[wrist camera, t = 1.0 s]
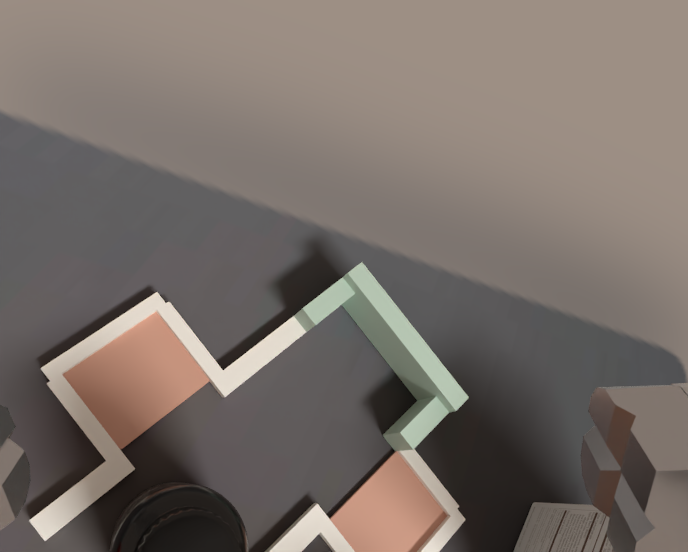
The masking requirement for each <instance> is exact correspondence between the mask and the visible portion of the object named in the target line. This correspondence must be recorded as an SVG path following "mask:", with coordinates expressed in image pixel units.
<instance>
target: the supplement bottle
mask: <svg viewBox="0 0 688 552" xmlns="http://www.w3.org/2000/svg"><path fill="white" fill-rule="evenodd" d="M110 552H248V538H247V533H246V529H245V526H244V523H243V521H242V519H241V517H240V515H239V513H238V512H237V510H236V509H235V507H234V506H233V505H232V504H231V503H230V502H229V501H228V500H227V499H226V498H225V497H223V496H222V495H221V494H219V493H218V492H216V491H214V490H212V489H210V488H207V487H204V486H200V485H195V484H190V483H184V482H168V483H162V484H159V485H155V486H153V487H151V488H149V489H146V490H145V491H143V492H142V493H140V494H139V495H137V496H136V497H135V498H134V499H133V500H132V501H131V502H130V503H129V504H128V505H127V506H126V507H125V509H124V510H123V512H122V513H121V515H120V516H119V518H118V520H117V522H116V525H115V527H114V530H113V534H112V538H111V545H110Z"/></svg>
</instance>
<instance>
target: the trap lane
mask: <svg viewBox="0 0 688 552" xmlns="http://www.w3.org/2000/svg"><path fill="white" fill-rule="evenodd" d="M340 305H342V306H343V307H344V308H345V310H346V311H347V312H348V313H349V315H350V316H351V317H352V319H353V320H354V321H355V322H356V324H357V325H358V326H359V327H360V329H361V330H362V331H363V333H364V334H365V335H366V336H367V338H368V339H369V340H370V341H371V343H372V344H373V345H374V347H375V348H376V349H377V350H378V352H379V353H380V354H381V355H382V357H383V358H384V359H385V360H386V362H387V363H388V364H389V366H390V367H391V368H392V369H393V371H394V372H395V373H396V374H397V376H398V377H399V378H400V380H401V381H402V382H403V383H404V385H405V386H406V387H407V388H408V390H409V391H410V392H411V394H412V395H413V396H414V397H415V399H416V400H417V402H416V403H415V404H414V405H413V406H411V407H410V408H409V409H408V410H407V411H406V412H405V413H404V414H403V415H402V416H401V417H400V418H399V419H398V420H397V421H396V422H395V423H394V424H393V425H392V426H391V427H390V428H389V429H388V430H387V431H386V432H385V433H384V434H383V437H384V438H385V439H386V441H387V442H388V443H389V444H390V446H391V447H392V448H393V450H394V451H395V452H394V453H393V454H392V455H391V456H390V457H389V458H388V459H387V460H386V461H385V462H384V463H383V464H382V465H381V466H380V467H379V468H378V469H377V470H376V471H375V472H374V473H373V474H372V475H371V476H370V477H369V478H368V479H367V480H366V481H365V482H364V483H363V484H362V485H361V487H360V488H359V489H358V490H357V491H356V492H355V493H354V494H353V495H352V496H351V497H350V498H349V499H348V500H347V501H346V502H345V503H344V504H343V505H342V506H341V507H340V508H339V509H338V510H337V511H336V512H335V513H334V514H333V515H332V516H331V517H330V518H328V516H327V515H326V514H325V513H324V511H323V510H322V509H321V508H320V506H319V505H318V504H317V503H313V504H312V505H311V506H310V507H309V508H308V509H307V510H306V511H305V512H304V513H303V514H302V515H301V516H300V517H299V518H298V519H297V520H296V521H295V522H294V523H293V524H292V525H291V526H290V527H289V528H288V529H287V530H286V531H285V532H284V533H283V534H282V535H281V536H280V537H279V538H278V539H277V540H276V541H275V542H274V543H273V544H272V545H271V546H270V547H269V548H268V549H267V550H266V551H265V552H302V551H303V550H304V549H305V548H306V547H307V546H308V544H309V543H310V542H311V541H312V540H313V539H314V538H315V537H316V536H317V535H318V534H319V535H320V536H321V537H322V539H323V540H324V541H325V542H326V544H327V545H328V546H329V548H330V549H331V550H332V551H333V552H439V551H440V550H441V549H442V548H443V546H444V545H445V544H446V543H447V542H448V540H449V539H450V538H451V537H452V536H453V534H454V533H455V532H456V531H457V530H458V528H459V527H460V526H461V525H462V524H463V522H464V521H465V520H466V519H465V518H464V517H463V515H462V514H461V513H460V512H459V510H458V509H457V508H458V507H459V505H458V504H457V503H456V501H455V500H454V499H453V498H452V496H451V495H450V494H449V493H448V491H447V490H446V489H445V487H444V486H443V485H442V484H441V482H440V481H439V480H438V479H437V477H436V476H435V475H434V473H433V472H432V471H431V470H430V468H429V467H428V466H427V465H426V463H425V462H424V461H423V459H422V458H421V457H420V456H419V454H418V453H417V452H416V450H415V449H414V448H415V447H416V446H417V445H418V444H419V443H420V442H421V441H422V440H423V439H424V438H425V437H426V436H427V435H428V434H429V433H430V432H431V431H432V430H433V429H434V428H435V427H436V426H437V424H438V423H439V422H440V421H441V420H442V419H443V418H444V417H445V416H446V415H447V414H448V413H449V412H454V411H457V410H458V409H459V408H460V407H461V406H462V404H463V403H464V402H465V401H466V400H467V399H468V398H469V397H468V396H467V394H466V393H465V392H464V391H463V389H462V388H461V387H460V386H459V384H458V383H457V382H456V381H455V379H454V378H453V377H452V375H451V374H450V373H449V372H448V370H447V369H446V368H445V367H444V365H443V364H442V363H441V362H440V360H439V359H438V358H437V356H436V355H435V354H434V353H433V351H432V350H431V349H430V348H429V346H428V345H427V344H426V343H425V341H424V340H423V339H422V337H421V336H420V335H419V334H418V332H417V331H416V330H415V329H414V327H413V326H412V325H411V324H410V322H409V321H408V320H407V318H406V317H405V316H404V315H403V313H402V312H401V311H400V310H399V308H398V307H397V306H396V305H395V303H394V302H393V301H392V299H391V298H390V297H389V296H388V294H387V293H386V292H385V291H384V289H383V288H382V287H381V286H380V284H379V283H378V282H377V280H376V279H375V278H374V277H373V275H372V274H371V273H370V272H369V270H368V269H367V268H366V267H365V265H364V264H363V263H362V262H361V263H360V264H359V265H357V266H356V267H355V268H354V269H352V270H351V271H350V272H348V273H347V274H346V275H345V276H344V277H342V278H341V279H340V280H338V281H337V282H336V283H335V284H333V285H332V286H331V287H329V288H328V289H327V290H326V291H324V292H323V293H322V294H320V295H319V296H318V297H316V298H315V299H314V300H313V301H311V302H310V303H309V304H307V305H306V306H305V307H303V308H302V309H301V310H300V311H299V312H298V313H296V314H295V315H294V316H293V317H292V318H290V319H289V320H288V321H286V322H285V323H284V324H283V325H281V326H280V327H279V328H277V329H276V330H275V331H273V332H272V333H271V334H270V335H268V336H267V337H266V338H264V339H263V340H262V341H261V342H259V343H258V344H257V345H255V346H254V347H253V348H251V349H250V350H249V351H248V352H246V353H245V354H244V355H242V356H241V357H240V358H239V359H237V360H236V361H235V362H233V363H232V364H231V365H230V366H228V367H227V368H226V369H224V370H222V368H221V367H220V366H219V365H218V363H217V362H216V361H215V360H214V358H213V357H212V356H211V354H210V353H209V352H208V351H207V349H206V348H205V347H204V345H203V344H202V343H201V342H200V340H199V339H198V338H197V336H196V335H195V334H194V333H193V331H192V330H191V329H190V327H189V326H188V325H187V324H186V322H185V321H184V320H183V319H182V317H181V316H180V315H179V313H178V312H177V311H176V310H175V308H174V307H173V306H172V304H171V303H170V302H167V303H165V301H164V300H163V299H162V298H161V296H160V295H159V294H158V292H156V293H155V294H153V295H152V296H150V297H148V298H147V299H145V300H144V301H142V302H141V303H139V304H138V305H136V306H135V307H133V308H132V309H130V310H129V311H127V312H126V313H124V314H123V315H121V316H119V317H118V318H116V319H115V320H113V321H112V322H110V323H109V324H107V325H106V326H104V327H103V328H101V329H100V330H98V331H97V332H95V333H93V334H92V335H90V336H89V337H87V338H86V339H84V340H83V341H81V342H80V343H78V344H77V345H75V346H74V347H72V348H71V349H69V350H68V351H66V352H64V353H63V354H61V355H60V356H58V357H57V358H55V359H54V360H52V361H51V362H49V363H48V364H46V365H45V366H43V367H42V368H41V370H42V371H43V373H44V374H45V375H46V377H47V378H48V379H49V381H50V382H48V383H47V385H48V387H49V388H50V389H51V390H52V392H53V393H54V394H55V396H56V397H57V398H58V399H59V401H60V402H61V403H62V405H63V406H64V407H65V409H66V410H67V411H68V412H69V414H70V415H71V416H72V418H73V419H74V420H75V421H76V423H77V424H78V425H79V427H80V428H81V429H82V431H83V432H84V433H85V434H86V436H87V437H88V438H89V440H90V441H91V442H92V443H93V445H94V446H95V447H96V449H97V450H98V451H99V453H100V454H101V455H102V456H103V458H104V459H105V460H106V461H105V462H104V463H103V464H101V465H100V466H99V467H98V468H96V469H95V470H94V471H92V472H91V473H90V474H89V475H87V476H86V477H85V478H83V479H82V480H81V481H79V482H78V483H77V484H76V485H74V486H73V487H72V488H70V489H69V490H68V491H67V492H65V493H64V494H63V495H61V496H60V497H59V498H58V499H56V500H55V501H54V502H52V503H51V504H50V505H48V506H47V507H46V508H45V509H43V510H42V511H41V512H39V513H38V514H37V515H36V516H34V517H33V518H32V519H30V520H29V521H30V522H31V524H32V525H33V526H34V528H35V529H36V530H37V532H38V533H39V534H40V535H41V537H42V538H43V539H44V541H46V540H47V539H48V538H50V537H51V536H52V535H53V534H55V533H56V532H57V531H58V530H60V529H61V528H62V527H63V526H65V525H66V524H67V523H68V522H70V521H71V520H72V519H73V518H75V517H76V516H77V515H78V514H80V513H81V512H82V511H83V510H85V509H86V508H87V507H88V506H90V505H91V504H92V503H93V502H95V501H96V500H97V499H98V498H100V497H101V496H102V495H103V494H105V493H106V492H107V491H108V490H110V489H111V488H112V487H113V486H115V485H116V484H117V483H118V482H120V481H121V480H122V479H123V478H125V477H126V476H127V475H128V474H130V473H131V472H132V471H133V470H135V468H134V467H133V465H132V464H131V463H130V461H129V460H128V459H127V458H126V456H125V455H124V454H123V452H122V451H121V449H123V448H124V447H125V446H126V445H128V444H129V443H130V442H132V441H133V440H134V439H136V438H137V437H138V436H139V435H141V434H142V433H143V432H145V431H146V430H147V429H148V428H150V427H151V426H152V425H154V424H155V423H156V422H157V421H159V420H160V419H161V418H163V417H164V416H165V415H167V414H168V413H169V412H170V411H172V410H173V409H174V408H176V407H177V406H178V405H179V404H181V403H182V402H183V401H185V400H186V399H187V398H189V397H190V396H191V395H192V394H194V393H195V392H196V391H198V390H199V389H200V388H201V387H203V386H204V385H205V384H207V383H208V382H209V381H210V383H211V384H212V385H213V387H214V388H215V389H216V390H217V392H218V393H219V394H220V395H221V397H222V398H224V397H226V396H227V395H228V394H230V393H231V392H232V391H233V390H235V389H236V388H237V387H238V386H240V385H241V384H242V383H243V382H245V381H246V380H247V379H248V378H250V377H251V376H252V375H253V374H255V373H256V372H257V371H258V370H259V369H261V368H262V367H263V366H264V365H266V364H267V363H268V362H269V361H271V360H272V359H273V358H274V357H276V356H277V355H278V354H279V353H281V352H282V351H283V350H284V349H286V348H287V347H288V346H289V345H291V344H292V343H293V342H294V341H296V340H297V339H298V338H299V337H301V336H302V335H303V334H304V333H306V332H307V331H308V330H310V329H311V328H313V327H314V326H315V325H317V324H318V323H319V322H320V321H322V320H323V319H324V318H325V317H327V316H328V315H329V314H330V313H332V312H333V311H334V310H335V309H337V308H338V307H339V306H340Z"/></svg>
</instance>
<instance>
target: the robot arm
mask: <svg viewBox="0 0 688 552" xmlns="http://www.w3.org/2000/svg"><path fill="white" fill-rule="evenodd" d="M588 412H589V413H590V415H591V417H592V419H593V421H594V423H595V426H594V427H593V428H592V429H591V430H590V431H588V432H587V433H586V434H585V435H584V436H583V443H582V449H581V466H582V476H583V479H584V483H585V487H586V490H587V493H588V495H589V497H590V499H591V502H592V504H593V506H594V507H596V508H597V509H598V510H600V511H601V512H602V513H604V514H605V515H606V516H608V517H609V523H608V527H607V532H606V534H607V537H608V539H609V541H610V543H611V545H612V547H613V549H614V552H688V383H680V384H671V385H658V386H627V387H596V389H595V391H594V392H593V394H592V396H591V400H590V405H589V410H588ZM14 428H15V424H14V422H13V419H12V417H11V415H10V413H9V410H8V408H6V407H4V406H1V405H0V530H1V529H3V528H4V527H5V526H7V525H8V524H10V523H11V522H12V521H14V520H15V519H16V517H17V516H18V514H19V512H20V510H21V509H22V507H23V505H24V503H25V502H26V497H27V493H28V489H29V485H30V481H31V480H30V466H29V462H28V459H27V456H26V453H25V451H24V450H23V449H22V448H20V447H19V446H18V445H17V444H15V443H14V442H13V441H11V440H10V439H9V438H10V436H11V434H12V432H13V430H14Z"/></svg>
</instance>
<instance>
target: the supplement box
mask: <svg viewBox="0 0 688 552" xmlns="http://www.w3.org/2000/svg"><path fill="white" fill-rule="evenodd" d="M608 523H609V517H608V516H606V515H605V514H604V513H602V512H601V511H600V510H598V509H597V508H596V507H594V506H593V505H582V504H561V503H540V502H534V503H533V504H532V506H531V509H530V511H529V514H528V516H527V518H526V521H525V524H524V526H523V529H522V531H521V534H520V536H519V539H518V541H517V544H516V546H515V549H514V551H513V552H614V549H613V547H612V545H611V543H610V541H609V539H608V537H607V534H606V532H607V527H608Z"/></svg>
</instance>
